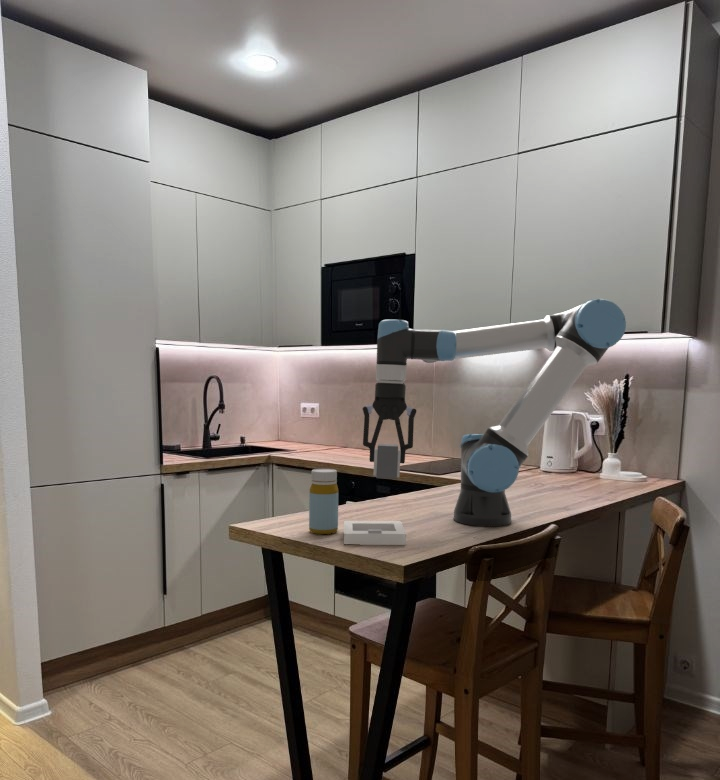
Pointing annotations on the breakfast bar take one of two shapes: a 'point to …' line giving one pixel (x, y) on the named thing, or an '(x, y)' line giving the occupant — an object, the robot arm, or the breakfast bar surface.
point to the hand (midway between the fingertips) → (386, 475)
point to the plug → (387, 461)
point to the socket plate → (374, 533)
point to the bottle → (323, 502)
